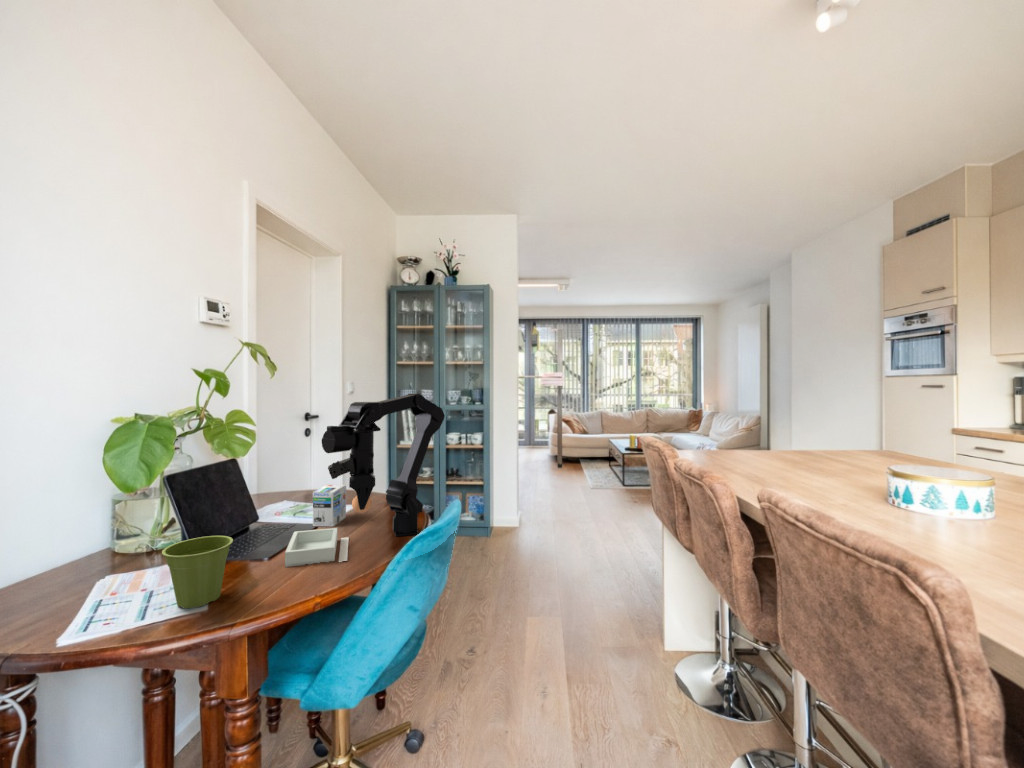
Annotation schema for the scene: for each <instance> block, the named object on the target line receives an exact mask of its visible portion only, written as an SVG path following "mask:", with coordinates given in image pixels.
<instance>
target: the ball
mask: <svg viewBox="0 0 1024 768" xmlns="http://www.w3.org/2000/svg"><path fill="white" fill-rule="evenodd" d="M372 503H373V502H372V499H371V496H370V497H369V499H368V501H367V504H366V506H365V509H364V510H360V508H359V503H358V498H357V495H355V497H353V499H352V501H351V507H352V509H353V510H354V511H355V512H356V513H358V514H364V513H367V512H368V511H369V510H370V509H371V507H372Z"/></svg>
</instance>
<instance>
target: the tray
mask: <svg viewBox="0 0 1024 768" xmlns="http://www.w3.org/2000/svg"><path fill="white" fill-rule="evenodd" d="M337 545H338V527H332V528H321V529H319V528H318V529H310V530H298V531H293V533H292V536H291V537H290V540H289V542H288V545H287V547H286V549H285V552H284V559H285V560H284V567H285V568H287V567H296V566H297V567H299V566H306V565H305V564H308V565H314V564H313V563H317V564H321V563H320V562H326V563H330V562H329V561H334V562H335V558H336V554H337V553H336V551H337Z"/></svg>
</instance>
